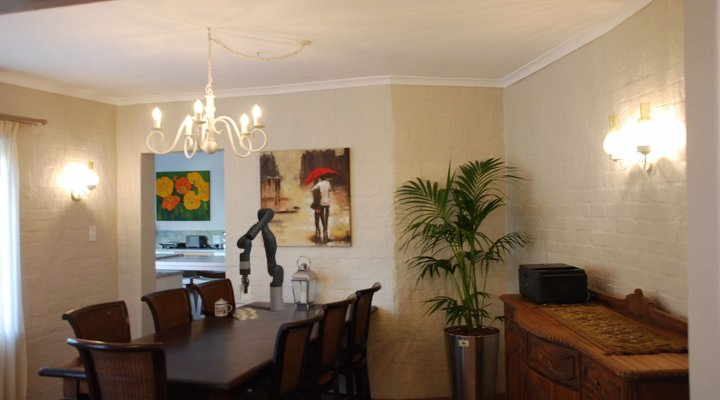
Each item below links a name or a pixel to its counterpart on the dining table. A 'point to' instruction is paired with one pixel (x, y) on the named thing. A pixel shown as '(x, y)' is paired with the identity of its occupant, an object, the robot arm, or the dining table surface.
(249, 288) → the tile
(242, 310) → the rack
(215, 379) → the dining table surface
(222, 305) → the teacup with lid
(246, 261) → the robot arm
